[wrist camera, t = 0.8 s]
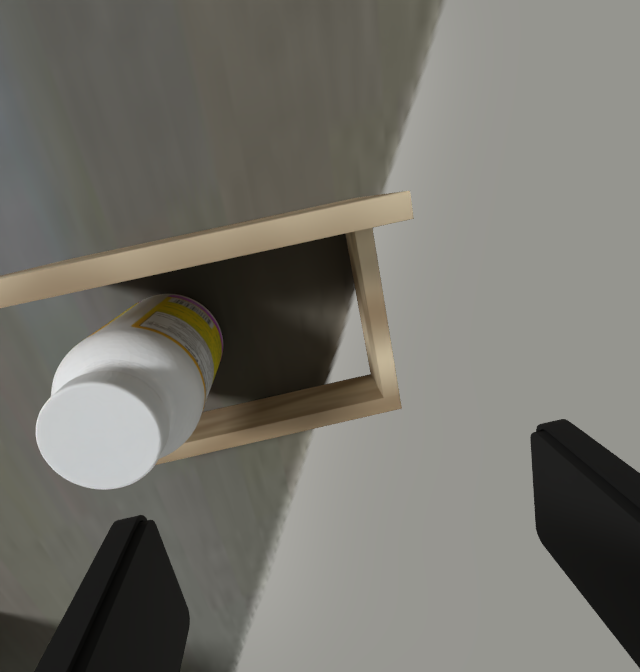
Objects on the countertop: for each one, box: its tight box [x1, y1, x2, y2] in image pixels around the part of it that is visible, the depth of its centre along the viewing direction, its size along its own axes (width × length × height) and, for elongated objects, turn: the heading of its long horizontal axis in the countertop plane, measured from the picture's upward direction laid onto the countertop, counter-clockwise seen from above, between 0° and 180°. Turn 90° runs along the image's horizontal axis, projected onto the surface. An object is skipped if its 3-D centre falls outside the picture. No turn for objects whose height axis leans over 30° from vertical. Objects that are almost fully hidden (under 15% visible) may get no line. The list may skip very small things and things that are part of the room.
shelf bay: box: [0, 191, 413, 465], centre depth 23 cm, size 13×18×12 cm
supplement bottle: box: [36, 294, 223, 489], centre depth 23 cm, size 7×7×13 cm
